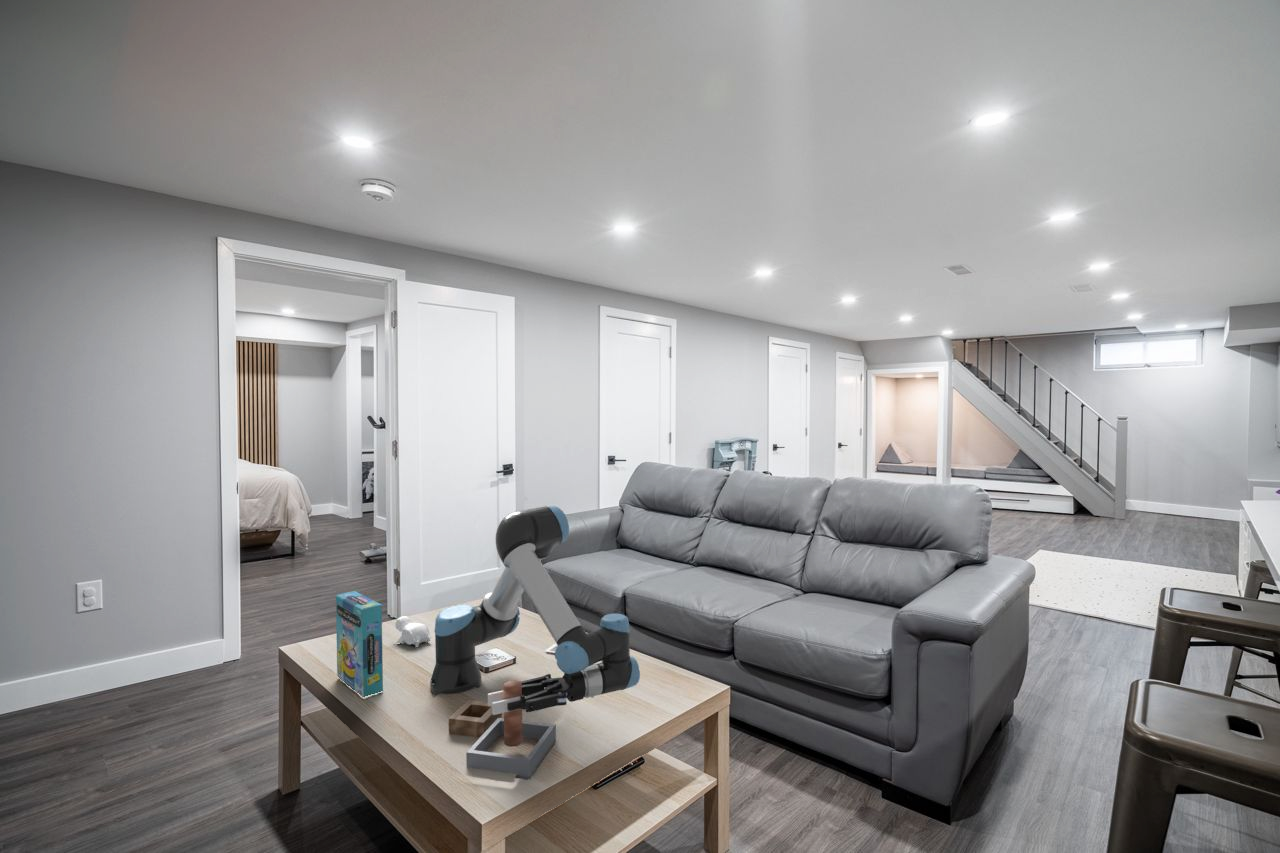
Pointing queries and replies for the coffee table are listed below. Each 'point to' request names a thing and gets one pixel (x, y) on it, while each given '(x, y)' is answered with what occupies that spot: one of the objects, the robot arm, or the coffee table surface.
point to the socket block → (472, 719)
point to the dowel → (512, 715)
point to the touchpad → (552, 648)
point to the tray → (512, 763)
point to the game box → (359, 643)
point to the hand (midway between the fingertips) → (490, 704)
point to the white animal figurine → (412, 631)
